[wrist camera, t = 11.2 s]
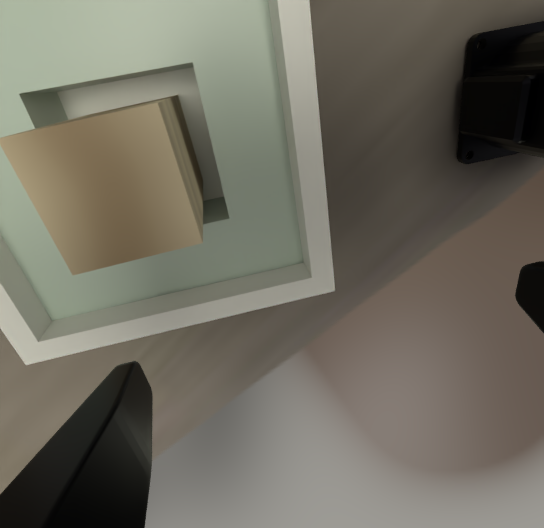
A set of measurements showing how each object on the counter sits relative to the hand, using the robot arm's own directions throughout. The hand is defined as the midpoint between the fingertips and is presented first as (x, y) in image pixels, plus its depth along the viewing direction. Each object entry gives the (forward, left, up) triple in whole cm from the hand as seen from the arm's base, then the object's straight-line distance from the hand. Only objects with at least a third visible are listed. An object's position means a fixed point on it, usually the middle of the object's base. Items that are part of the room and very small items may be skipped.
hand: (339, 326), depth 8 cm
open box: (+5, -3, -13) cm, 14 cm away
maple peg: (+5, -3, -12) cm, 13 cm away
